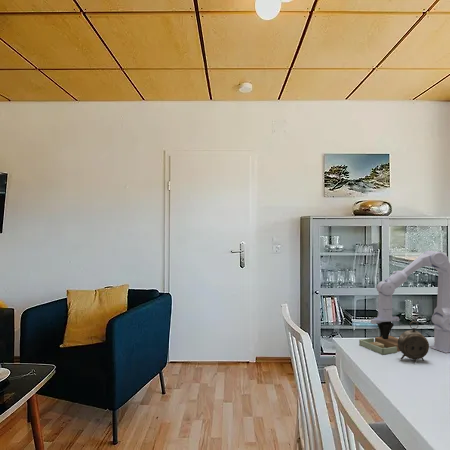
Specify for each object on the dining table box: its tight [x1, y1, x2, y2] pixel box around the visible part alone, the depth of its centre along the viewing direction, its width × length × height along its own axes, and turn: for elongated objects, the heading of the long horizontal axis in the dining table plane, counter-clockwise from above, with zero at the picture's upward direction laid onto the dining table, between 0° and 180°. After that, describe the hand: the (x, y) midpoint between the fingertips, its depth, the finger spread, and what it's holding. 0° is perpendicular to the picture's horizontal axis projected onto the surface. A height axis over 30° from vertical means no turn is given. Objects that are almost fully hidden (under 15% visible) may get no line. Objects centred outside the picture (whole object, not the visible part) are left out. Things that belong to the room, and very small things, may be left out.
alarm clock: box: [398, 320, 430, 364], centre depth 152 cm, size 11×5×16 cm, turn 84°
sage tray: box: [358, 337, 398, 356], centre depth 167 cm, size 8×14×2 cm, turn 22°
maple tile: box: [370, 341, 384, 348], centre depth 166 cm, size 4×4×2 cm
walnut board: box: [374, 334, 401, 353], centre depth 170 cm, size 9×12×3 cm
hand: (385, 338), depth 168 cm, fingers closed
